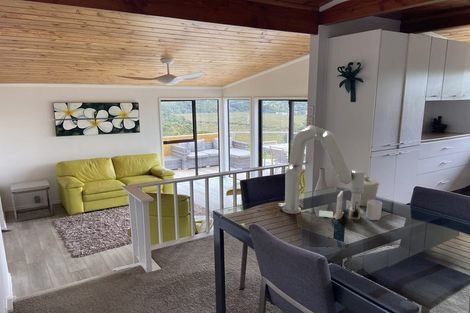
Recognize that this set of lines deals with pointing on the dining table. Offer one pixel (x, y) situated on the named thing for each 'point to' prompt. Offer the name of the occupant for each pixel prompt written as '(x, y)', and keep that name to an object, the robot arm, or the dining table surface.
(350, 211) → the letter cube
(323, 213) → the mat
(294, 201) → the robot arm
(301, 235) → the dining table surface
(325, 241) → the dining table surface
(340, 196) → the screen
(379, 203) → the mug
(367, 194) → the canister
